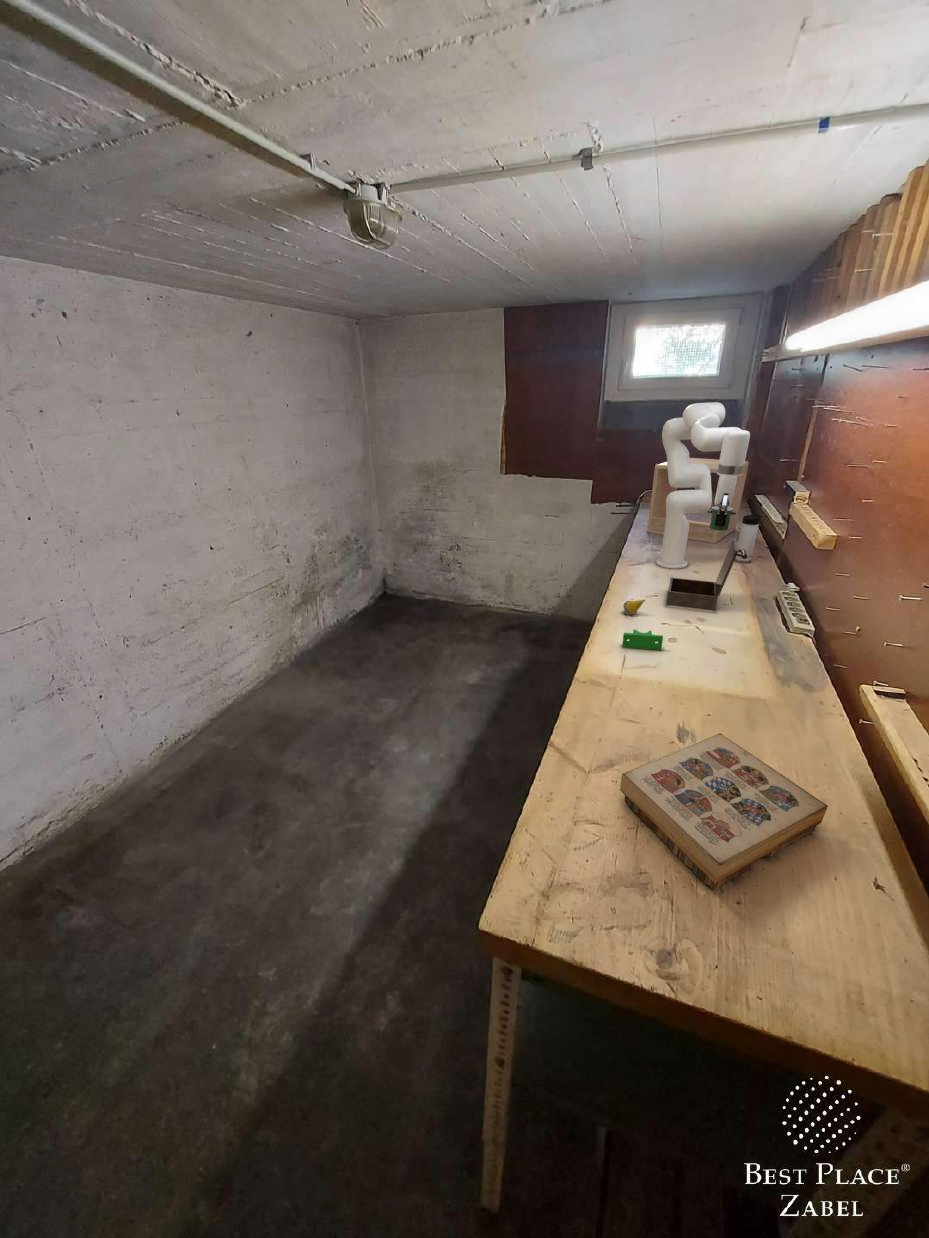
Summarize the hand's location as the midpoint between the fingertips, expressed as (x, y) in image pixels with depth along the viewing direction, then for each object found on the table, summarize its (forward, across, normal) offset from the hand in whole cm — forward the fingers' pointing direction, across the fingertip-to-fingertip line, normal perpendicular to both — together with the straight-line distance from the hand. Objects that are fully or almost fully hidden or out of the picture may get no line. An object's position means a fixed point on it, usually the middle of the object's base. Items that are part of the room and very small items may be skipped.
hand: (719, 522), depth 168 cm
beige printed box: (+26, +109, +4) cm, 112 cm away
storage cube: (+29, -86, -9) cm, 91 cm away
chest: (+27, +10, -5) cm, 29 cm away
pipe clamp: (+27, +49, -17) cm, 59 cm away
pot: (+2, 0, 0) cm, 2 cm away
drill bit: (+27, +28, -22) cm, 45 cm away
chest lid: (+13, +9, +4) cm, 16 cm away
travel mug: (+28, -44, +14) cm, 54 cm away
